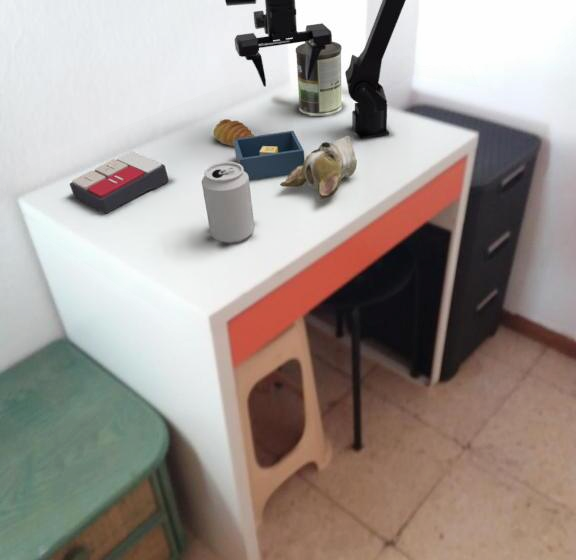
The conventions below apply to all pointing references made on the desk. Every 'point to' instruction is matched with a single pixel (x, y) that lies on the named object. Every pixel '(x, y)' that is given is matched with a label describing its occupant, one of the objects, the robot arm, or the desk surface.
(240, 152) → the blue open box
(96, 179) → the multicoloured piece
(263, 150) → the alphabet block
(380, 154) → the desk surface
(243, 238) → the can
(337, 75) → the coffee can
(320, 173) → the ceramic sculpture
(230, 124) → the pastry
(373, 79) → the robot arm
